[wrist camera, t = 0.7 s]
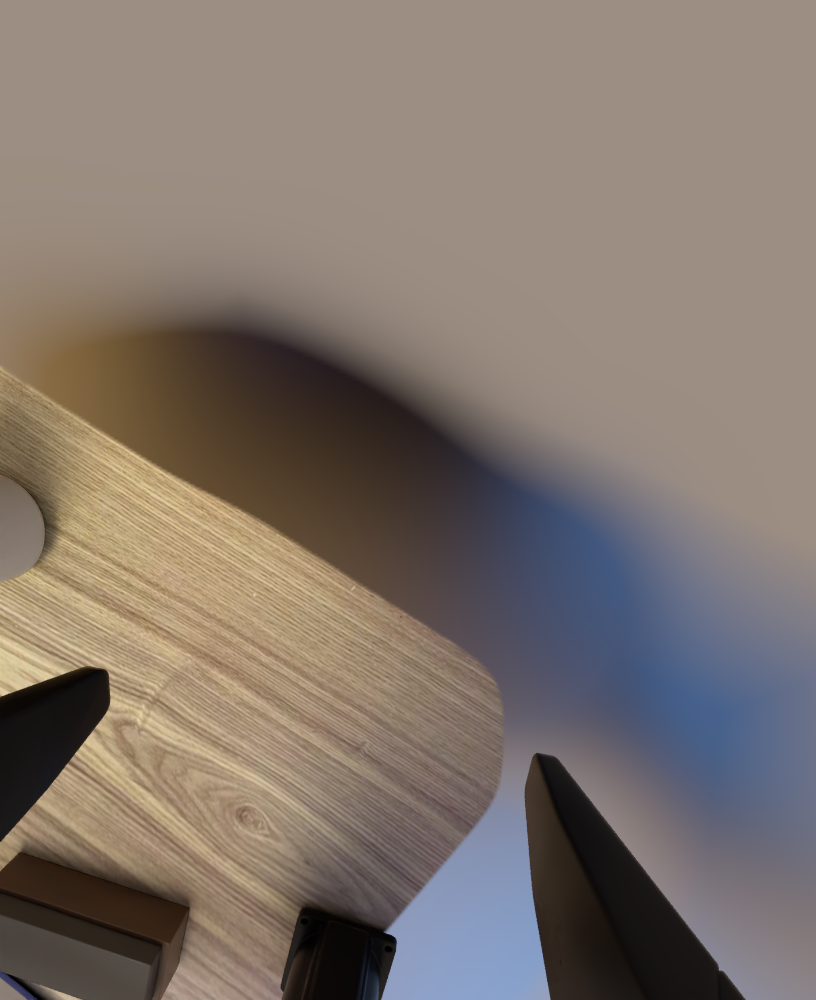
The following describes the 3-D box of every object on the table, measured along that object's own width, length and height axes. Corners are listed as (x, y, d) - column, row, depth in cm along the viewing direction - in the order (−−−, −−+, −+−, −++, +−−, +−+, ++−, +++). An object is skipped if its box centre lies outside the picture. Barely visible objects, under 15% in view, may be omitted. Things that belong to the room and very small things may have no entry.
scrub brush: (178, 965, 28) (147, 1026, 25) (13, 909, 29) (-36, 963, 26) (189, 907, 27) (158, 964, 25) (19, 851, 28) (-31, 900, 25)
